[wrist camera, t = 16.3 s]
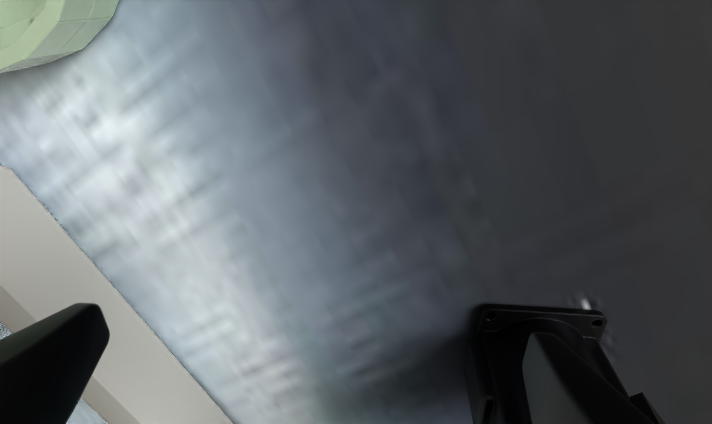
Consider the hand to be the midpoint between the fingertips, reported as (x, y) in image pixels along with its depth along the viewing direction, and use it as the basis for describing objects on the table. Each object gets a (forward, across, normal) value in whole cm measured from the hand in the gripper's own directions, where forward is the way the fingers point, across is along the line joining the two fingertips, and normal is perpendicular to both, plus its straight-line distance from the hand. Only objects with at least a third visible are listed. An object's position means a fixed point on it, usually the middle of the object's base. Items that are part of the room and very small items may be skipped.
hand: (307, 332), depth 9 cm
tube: (+12, +14, +12) cm, 22 cm away
